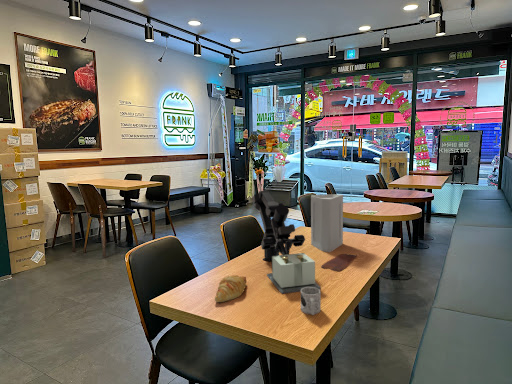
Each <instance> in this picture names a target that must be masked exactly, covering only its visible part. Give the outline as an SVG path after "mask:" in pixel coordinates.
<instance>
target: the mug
mask: <svg viewBox="0 0 512 384" xmlns="http://www.w3.org/2000/svg"><path fill="white" fill-rule="evenodd" d="M321 293H322V292H321V289H318V288H315V287H305V288H302V289H301V291H300V311H301V312H302V313H304V314H306V315H312V316H315V315H317V314H319V313H320V312H321V309H322V308H321V306H322V305H321V304H322V303H321V302H322V301H321Z"/></svg>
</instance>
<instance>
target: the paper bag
mask: <svg viewBox="0 0 512 384" xmlns="http://www.w3.org/2000/svg"><path fill="white" fill-rule="evenodd" d="M310 216H311V217H310V225H311V226H310V229H311V230H310V233H311V234H310V235H311V236H310V240H311V241H310V245H311V246H312V245H313V246H312V247H314V248H316V249H318V250H320V251H321V252H325V253H326V252H327V253H332V252H333V251H334V250H336V249H338V248H339V247H340V246H342V245H343V241H344V239H343V238H344V236H343V235H344V226H343V225H344V194H337V193H336V194H335V193H334V194H312V195H311V196H310Z"/></svg>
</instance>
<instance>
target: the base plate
mask: <svg viewBox="0 0 512 384" xmlns="http://www.w3.org/2000/svg"><path fill="white" fill-rule="evenodd" d="M297 258H299V259H300V261H301V258H303V255H297ZM282 259H283V260H284V261H285V264H287V262H286V259H288V256H282ZM266 276H267V277H268V279H269V280H270V281H271V283H273V285H274V286H275V287H276V289H277V290H278V292H279V293H280V294H281V295H283V294H289V293H290V294H292V293H297V292H300V293H301V289H302V288H305V287H315V288H318V289H319V290H322V288H321V286H320V285H319V284H318V283H317V282H316V281H315V284H308V285H300V286H292V287H284V288H281V287H280V286H279V284H278V283H277V282H276V281H275V279H274V278H273V277H272V272H271V273H266Z"/></svg>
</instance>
